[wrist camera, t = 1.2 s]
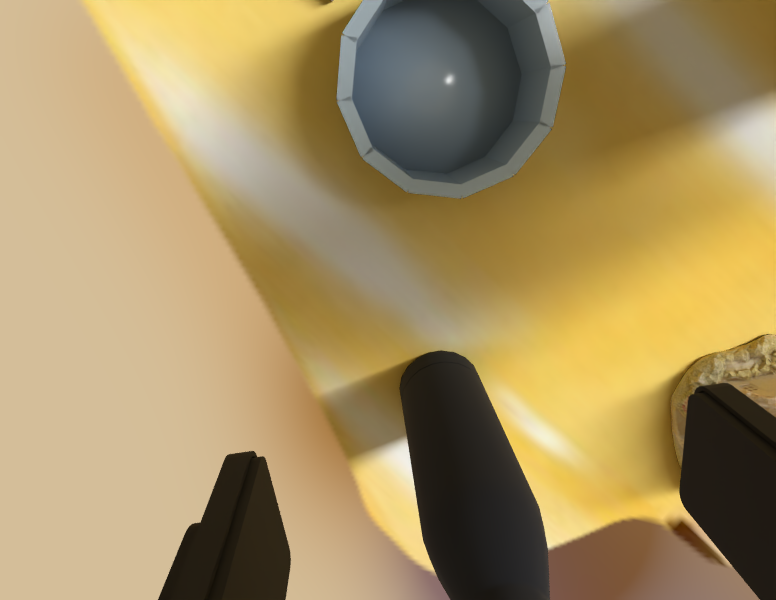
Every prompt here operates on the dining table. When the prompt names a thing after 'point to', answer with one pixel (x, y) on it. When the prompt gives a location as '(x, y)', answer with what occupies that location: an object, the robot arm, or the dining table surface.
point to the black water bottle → (470, 486)
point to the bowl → (449, 89)
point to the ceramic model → (728, 380)
